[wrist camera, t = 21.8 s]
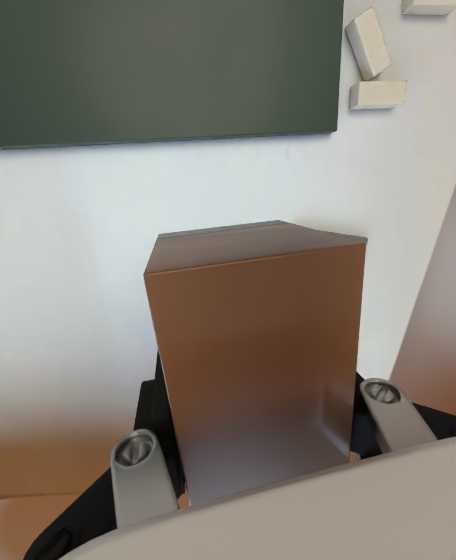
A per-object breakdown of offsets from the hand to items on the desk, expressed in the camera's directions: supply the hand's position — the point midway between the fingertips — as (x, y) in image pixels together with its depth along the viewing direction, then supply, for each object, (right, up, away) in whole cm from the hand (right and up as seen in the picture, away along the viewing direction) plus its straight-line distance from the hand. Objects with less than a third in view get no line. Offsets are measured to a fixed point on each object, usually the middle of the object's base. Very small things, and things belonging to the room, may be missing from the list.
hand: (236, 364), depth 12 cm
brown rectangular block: (0, 0, +1) cm, 1 cm away
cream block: (+15, +25, +8) cm, 30 cm away
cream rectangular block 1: (+10, +22, +9) cm, 25 cm away
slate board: (-6, +20, +6) cm, 22 cm away
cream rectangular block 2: (+11, +19, +10) cm, 24 cm away
